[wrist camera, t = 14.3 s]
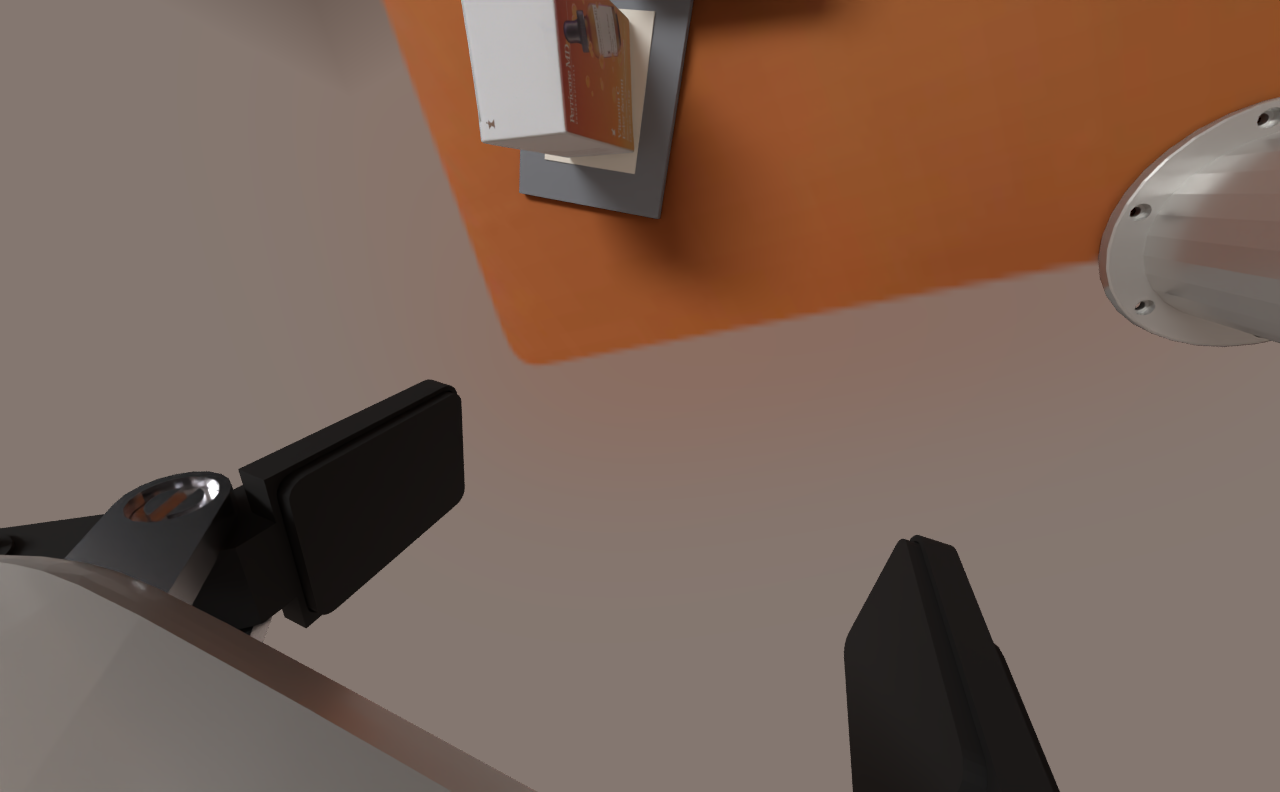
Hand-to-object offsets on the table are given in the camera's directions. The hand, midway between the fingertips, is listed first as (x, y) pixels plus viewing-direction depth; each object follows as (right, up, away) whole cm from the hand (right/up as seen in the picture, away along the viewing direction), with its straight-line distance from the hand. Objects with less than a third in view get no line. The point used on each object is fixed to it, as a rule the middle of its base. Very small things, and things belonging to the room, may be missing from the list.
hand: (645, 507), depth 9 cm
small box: (-3, +24, +23) cm, 33 cm away
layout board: (-3, +24, +23) cm, 34 cm away
